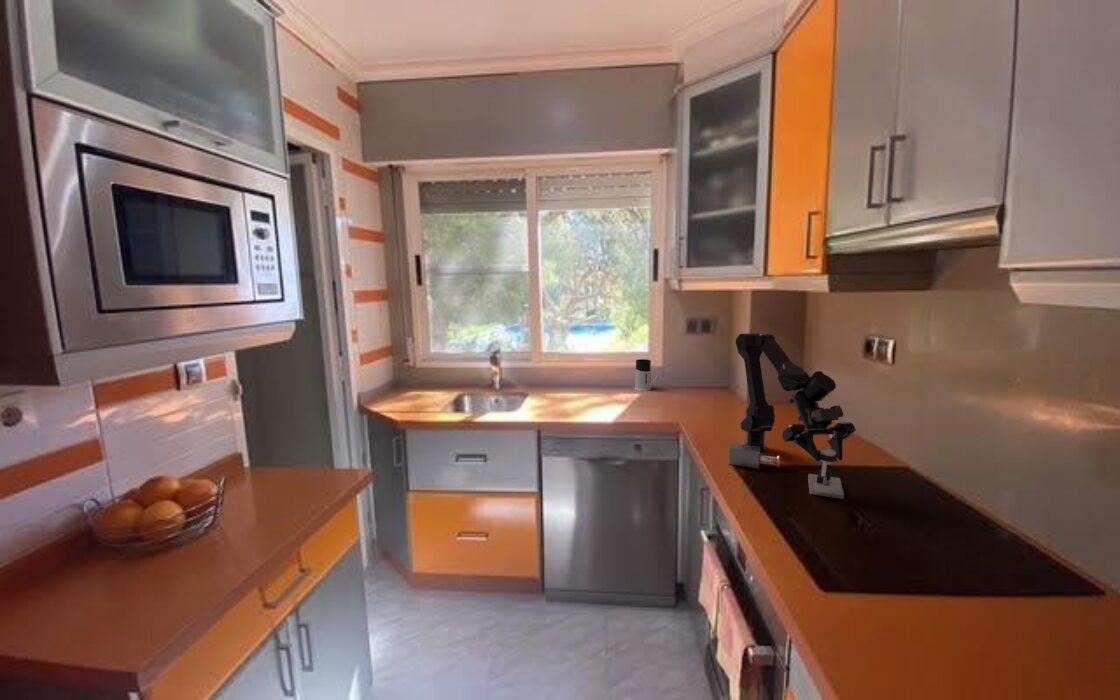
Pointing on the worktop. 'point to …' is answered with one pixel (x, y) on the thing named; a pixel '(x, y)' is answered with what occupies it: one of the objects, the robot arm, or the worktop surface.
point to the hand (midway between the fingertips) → (830, 460)
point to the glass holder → (643, 375)
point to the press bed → (825, 487)
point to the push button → (826, 464)
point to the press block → (744, 455)
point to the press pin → (770, 460)
